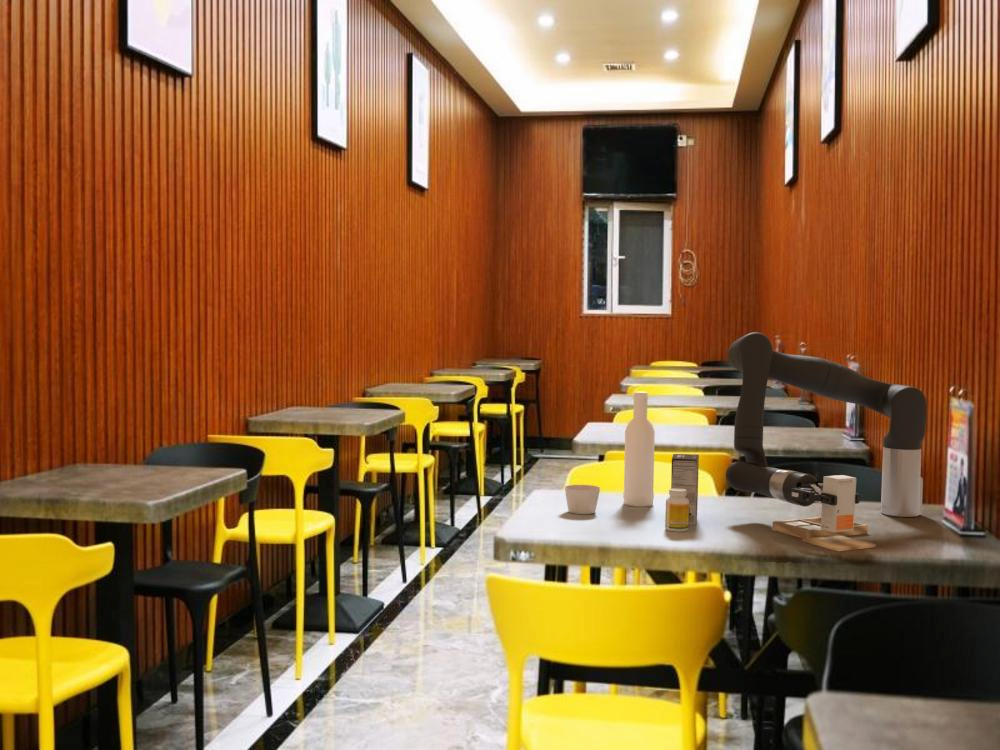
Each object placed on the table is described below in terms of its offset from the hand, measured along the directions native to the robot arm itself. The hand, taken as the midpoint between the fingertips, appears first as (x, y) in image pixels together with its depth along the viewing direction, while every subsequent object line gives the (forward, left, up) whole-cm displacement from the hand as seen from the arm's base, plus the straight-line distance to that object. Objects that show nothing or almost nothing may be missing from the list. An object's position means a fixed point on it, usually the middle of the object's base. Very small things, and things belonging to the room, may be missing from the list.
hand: (847, 499), depth 226 cm
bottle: (+13, -61, -10) cm, 64 cm away
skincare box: (0, -3, -7) cm, 8 cm away
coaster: (0, -2, -10) cm, 11 cm away
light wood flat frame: (-6, -14, -10) cm, 19 cm away
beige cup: (+33, -57, -10) cm, 67 cm away
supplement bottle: (+24, -29, -10) cm, 39 cm away
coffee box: (+16, -37, -10) cm, 42 cm away
